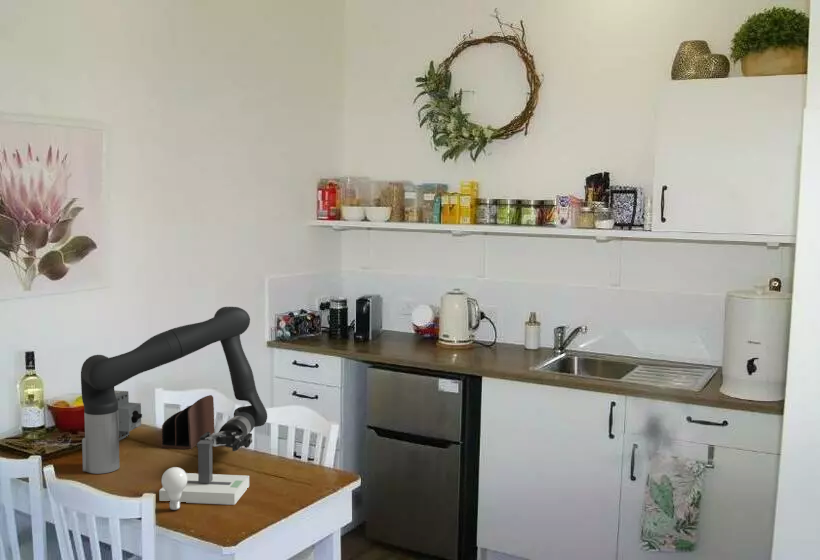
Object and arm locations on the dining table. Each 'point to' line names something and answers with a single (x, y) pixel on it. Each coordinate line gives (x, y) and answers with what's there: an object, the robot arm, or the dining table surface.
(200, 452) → the handle
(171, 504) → the lightbulb
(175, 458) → the dining table surface
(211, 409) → the letter holder
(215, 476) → the breaker panel
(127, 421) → the circuit breaker
